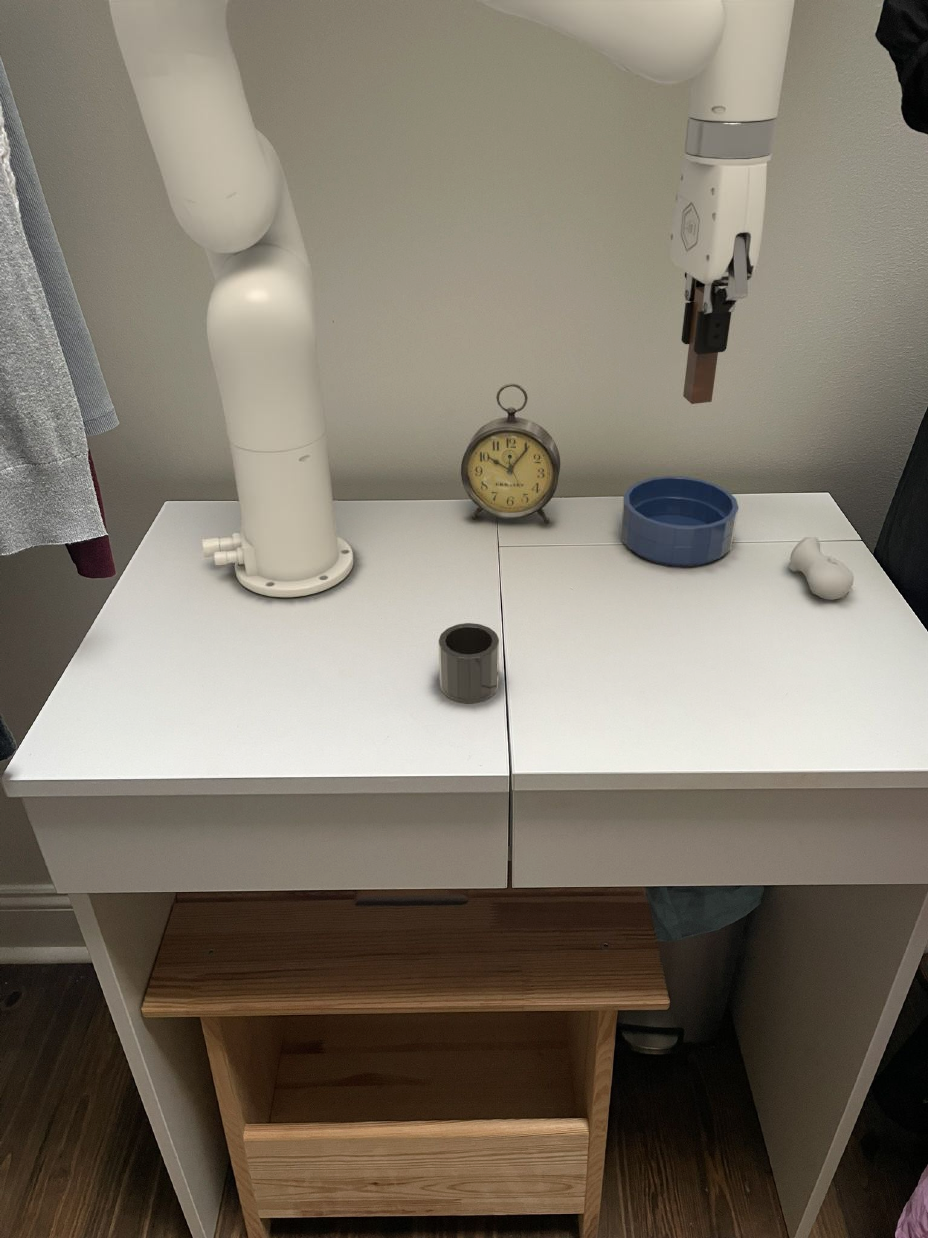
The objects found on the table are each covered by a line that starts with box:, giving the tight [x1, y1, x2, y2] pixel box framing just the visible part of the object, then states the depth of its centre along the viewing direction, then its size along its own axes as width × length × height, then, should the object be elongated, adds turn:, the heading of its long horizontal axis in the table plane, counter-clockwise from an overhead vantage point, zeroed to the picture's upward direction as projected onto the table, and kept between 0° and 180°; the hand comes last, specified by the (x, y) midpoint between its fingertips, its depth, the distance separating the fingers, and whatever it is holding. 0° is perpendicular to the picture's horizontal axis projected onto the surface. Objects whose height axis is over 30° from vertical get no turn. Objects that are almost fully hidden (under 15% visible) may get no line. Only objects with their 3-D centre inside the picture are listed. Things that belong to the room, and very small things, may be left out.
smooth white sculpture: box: [789, 536, 854, 601], centre depth 97 cm, size 4×8×5 cm
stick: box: [682, 286, 722, 405], centre depth 93 cm, size 2×2×11 cm
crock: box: [438, 622, 500, 704], centre depth 84 cm, size 5×5×5 cm
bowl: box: [619, 475, 739, 567], centre depth 104 cm, size 12×12×5 cm
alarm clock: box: [460, 383, 561, 524], centre depth 106 cm, size 11×5×16 cm, turn 81°
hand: (703, 345), depth 93 cm, fingers closed on stick, 2 cm apart
